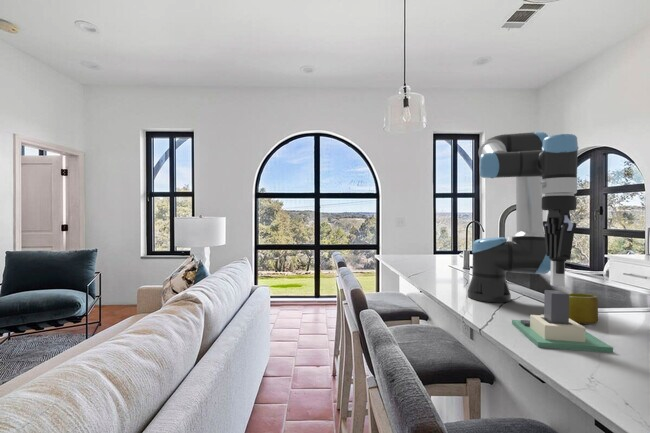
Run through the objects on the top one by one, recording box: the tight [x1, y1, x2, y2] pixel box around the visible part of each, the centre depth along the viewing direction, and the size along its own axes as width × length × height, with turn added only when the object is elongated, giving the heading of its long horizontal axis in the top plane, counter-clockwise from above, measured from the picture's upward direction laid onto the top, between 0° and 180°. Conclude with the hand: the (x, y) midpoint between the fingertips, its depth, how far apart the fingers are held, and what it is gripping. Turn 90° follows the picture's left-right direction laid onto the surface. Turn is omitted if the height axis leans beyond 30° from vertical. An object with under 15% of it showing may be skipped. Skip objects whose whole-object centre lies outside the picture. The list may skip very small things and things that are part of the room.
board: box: [511, 313, 614, 354], centre depth 90 cm, size 18×16×5 cm
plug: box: [543, 289, 570, 325], centre depth 88 cm, size 4×4×11 cm
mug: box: [566, 292, 599, 325], centre depth 104 cm, size 12×10×10 cm
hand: (557, 285), depth 88 cm, fingers closed
